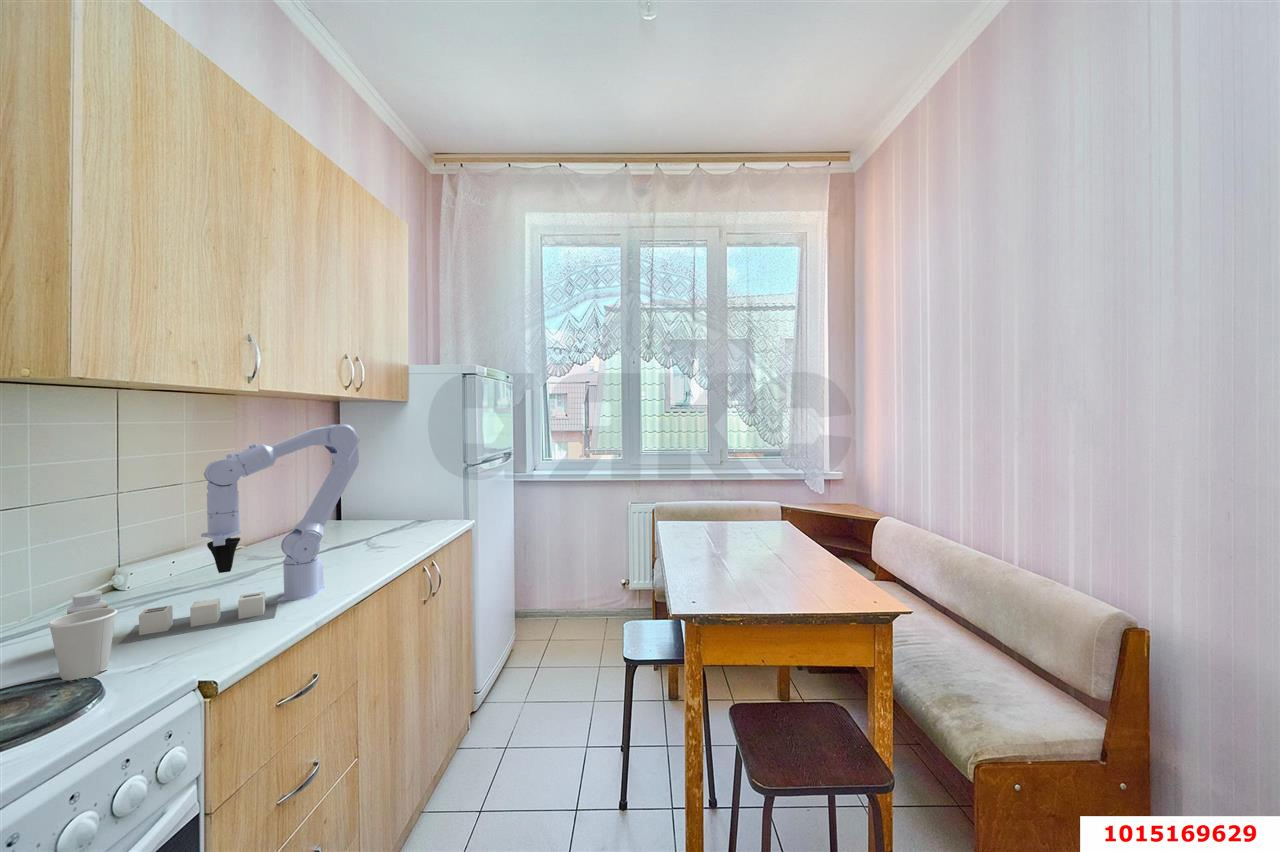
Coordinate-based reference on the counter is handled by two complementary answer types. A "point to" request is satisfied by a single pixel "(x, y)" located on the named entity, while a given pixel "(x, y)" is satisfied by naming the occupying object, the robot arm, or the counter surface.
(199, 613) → the plain block
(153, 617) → the two bar block
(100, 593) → the supplement bottle
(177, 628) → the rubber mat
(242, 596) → the one bar block
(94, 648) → the dixie cup
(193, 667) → the counter surface
